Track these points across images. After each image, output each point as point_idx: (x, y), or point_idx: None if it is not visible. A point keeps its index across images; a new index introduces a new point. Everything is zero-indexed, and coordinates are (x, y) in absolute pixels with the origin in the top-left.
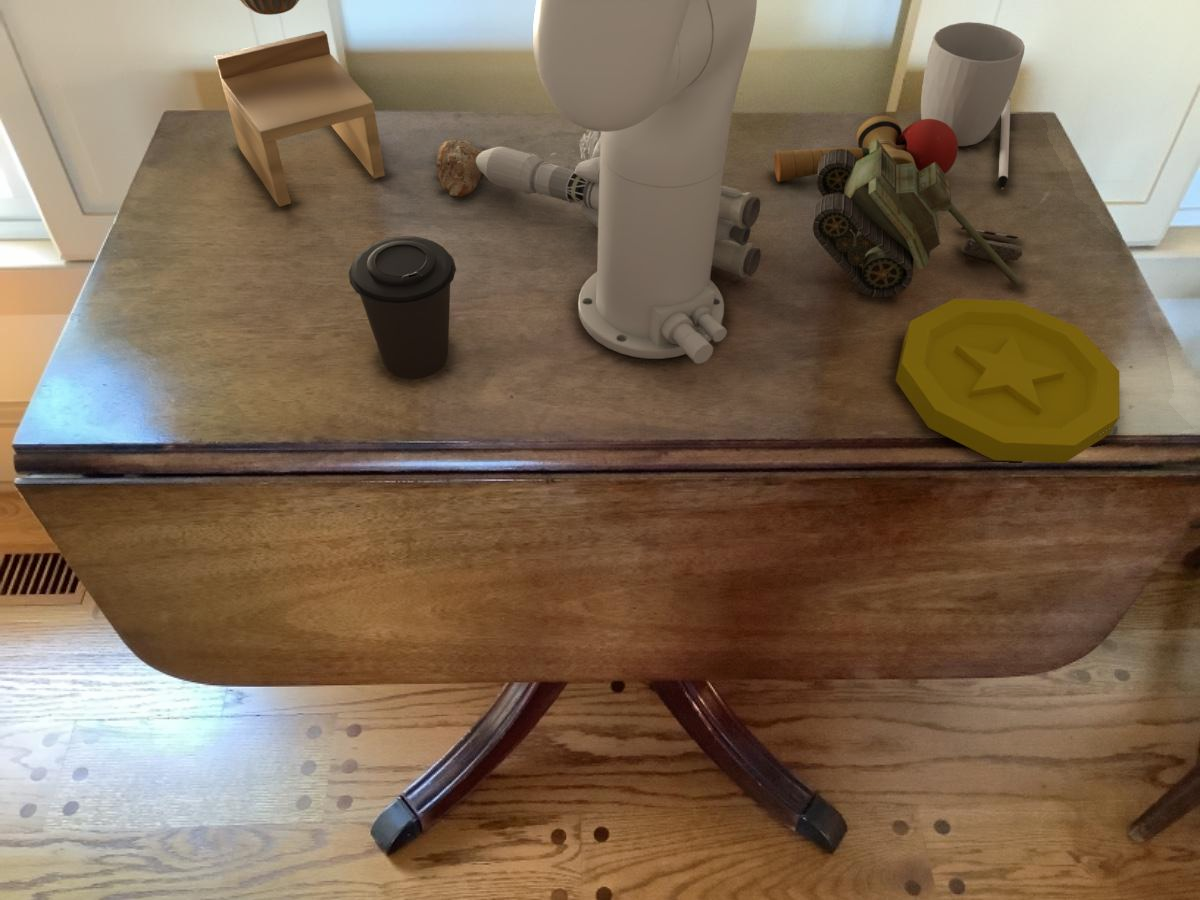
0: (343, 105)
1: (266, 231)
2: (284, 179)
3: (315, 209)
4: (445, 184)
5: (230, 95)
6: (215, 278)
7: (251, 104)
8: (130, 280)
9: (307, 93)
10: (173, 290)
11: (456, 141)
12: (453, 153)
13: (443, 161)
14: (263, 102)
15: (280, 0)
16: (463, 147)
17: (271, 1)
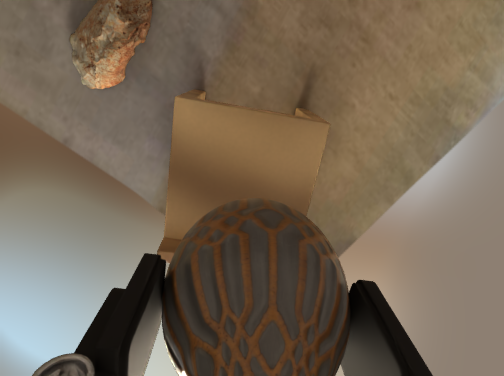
0: (213, 114)
1: (340, 79)
2: (301, 111)
3: (283, 82)
4: (148, 8)
5: None
6: (421, 38)
7: (302, 188)
8: (473, 91)
9: (235, 170)
10: (459, 48)
11: (97, 60)
12: (115, 24)
13: (132, 28)
14: (289, 183)
15: (267, 199)
16: (96, 36)
17: (285, 204)
